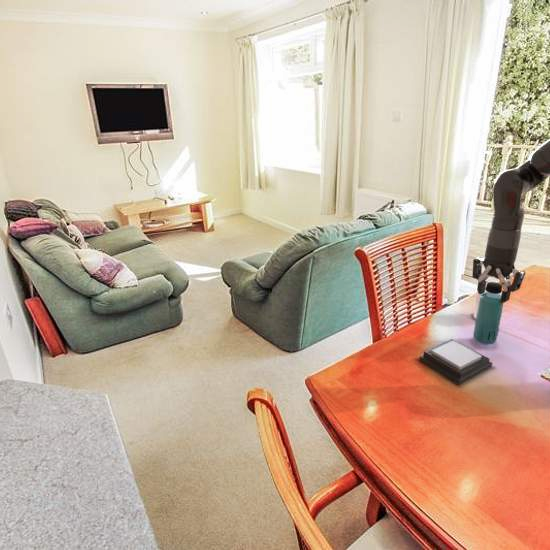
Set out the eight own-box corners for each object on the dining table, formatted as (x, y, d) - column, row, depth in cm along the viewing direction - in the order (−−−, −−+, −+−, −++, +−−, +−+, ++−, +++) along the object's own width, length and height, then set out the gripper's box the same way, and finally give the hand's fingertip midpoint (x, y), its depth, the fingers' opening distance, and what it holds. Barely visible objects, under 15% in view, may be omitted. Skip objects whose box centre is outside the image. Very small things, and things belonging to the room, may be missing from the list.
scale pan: (452, 344, 112) (453, 340, 111) (481, 360, 104) (482, 355, 103) (431, 354, 108) (431, 350, 107) (459, 371, 100) (460, 366, 100)
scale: (451, 345, 115) (452, 336, 114) (491, 367, 104) (493, 358, 103) (419, 360, 109) (420, 351, 108) (458, 385, 98) (460, 376, 97)
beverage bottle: (485, 351, 111) (497, 291, 103) (466, 340, 117) (476, 282, 109) (500, 345, 114) (513, 285, 106) (481, 335, 119) (492, 277, 111)
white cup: (467, 318, 129) (472, 292, 125) (477, 310, 134) (481, 284, 130) (492, 326, 123) (498, 299, 119) (501, 317, 128) (506, 291, 124)
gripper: (538, 247, 98) (524, 303, 105) (486, 234, 110) (477, 285, 117) (521, 253, 95) (508, 310, 102) (470, 239, 107) (461, 291, 113)
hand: (491, 297), depth 109 cm, fingers closed on beverage bottle, 6 cm apart
